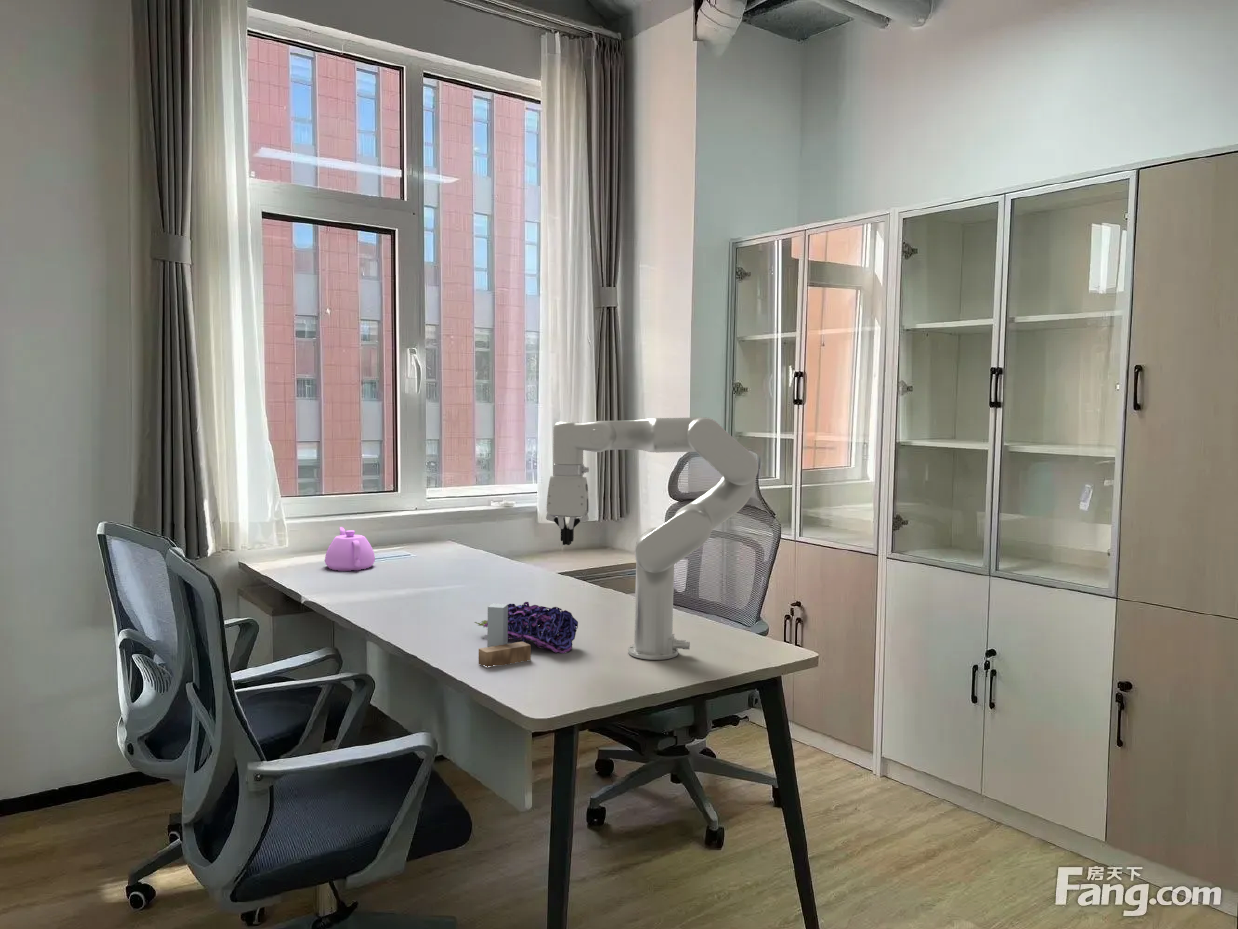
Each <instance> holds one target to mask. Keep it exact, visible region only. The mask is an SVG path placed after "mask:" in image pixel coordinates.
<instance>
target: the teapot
mask: <svg viewBox="0 0 1238 929" xmlns="http://www.w3.org/2000/svg"><path fill="white" fill-rule="evenodd" d="M355 533H356V530H354V529H351V530H346V529H345V528H344V526H339V535H336V536H335V537H334V538H333V540H332V541H331V543H330V544H329V546H328V548H327V549H326V552H325V556H324V563H325V565H326V566H327V567H328V568H329V569H330V570H331V569H332V571H336V570H338V571H339V572H352V571H351V570H357V571H362V570H361V569H364V570H367V569H366V568H368V569H370V568H371V567H372V566H373V565H374V563H375V561H376V556H375V551H374V548H373V547H372V544H371V543H370V542H369V540H368V538H367V537H366V536H364V535H361V534H355ZM369 567H370V568H369ZM338 571H337V572H338Z"/></svg>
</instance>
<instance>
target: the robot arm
mask: <svg viewBox="0 0 1238 929" xmlns="http://www.w3.org/2000/svg"><path fill="white" fill-rule="evenodd" d="M552 433H553V446H552V447H553V448H552V450H553V451H552V452H553V453H552V475H551V476H550V477H549V481H548V488H547V496H546V515H545V516H546V517H545V519H546V520H547V521H551V522H554V523H555V524H556V525H557V527H558V528H559V529H560V541H561V542H562V546H565V545H567V546H570V545H571V544H572V542H574V537H575V535H574V532H575V531H574V529H575V527H577V525H579V524H580V523H581V524H582V523H585V522H588V521H589V512H590V499H589V485H588V484H589V483H588V479H587V476H584V475H585V474H586V473H589V471H590V468H589V467H588V466H585V463H584V451H587V452H594V453H601V452H602V453H603V452H605V451H613V450H614V451H615V450H620V451H621V450H622V451H623V450H633V451H634V450H635V451H637V450H638V451H644V452H648V453H659V454H660V453H697V454H698V455H699V456H700V457H701V458H702V459H703V460H704V461H705V462H706V463H708V465H710V466H712V468H713V469H715V470H716V471H717V473H719V474H720V475H722V476H721V478H720V480H719V481H718V482H717V484H715V485H714V486H713V487H711V488H710V489H709V490H707V491H706V492H705V493H704V494H702V495H700V496H698V497H697V498H696V499H694V500H693V501H691V502H690V503H688V504H686V505H685V506H682V507H680V508H679V509H678V510H677V511H676V512H675V514H674V515H673V517H672V518H670V519H669V520H667V521H665V522H664V523H662V524H661V525H660V526H658V527H650V528H647V529H645V530H643V531H642V533H640V535H639V537H638V538H637V541H636V544H635V548H634V558H635V562H636V563H635V564H636V565H635V593H634V594H635V597H634V598H635V600H634V601H635V602H634V640H633V641H634V643H633V644H632V645H630V646H628V648H627V650H628V651H627V652H628V655H629V656H631V657H634V658H636V659H642V660H649V661H652V660H653V661H660V660H668V659H669V660H670V659H673V658H676V657H677V656H678V655H679V650H680V649H682V650H689V651H690V649H691V642H690V641H687V640H686V639H677V638H676V637H675V633H673V632H674V631H673V624H674V618H673V617H674V593H675V592H674V588H675V587H674V583H675V564H678V563H679V562H680V561H682V560H683V559H685V558H687V557H688V556H689V555H690V554H693V553H695V551H697V550H698V549H699V548H701V547H702V546H703V545H704V544H705V543H707V541H708V540H709V539H710V537H711V535H712V531H713V530H715V529H716V528H718V527H719V526H721V525H722V524H723V523H724V522H726V521H727V520H729V519H730V518H731V517H733V516H734V515H736V514H737V513H738V512H739V511H741V509H743V507H744V506H746V504H747V503H748V501H749V500H750V498H751V496H752V494H753V491H754V488H755V486H756V485H755V484H756V478H757V475H758V473H759V463H758V460H757V458H756V456H755V455H754V454H753V453H752V452H750V451H749V450H748V449H747V448H746V447H744V446H743V444H741V443H740V442H739V441H737V439H735V438H734V437H733V436H732V435H731V434H730V433H729V432H727V431H726V430H725V429H724V428H723V427H722V426H721V425H720V424H719V423H718V422H717V421H716V420H714V419H713V418H710V417H702V416H701V417H700V416H699V417H698V416H697V417H696V416H695V417H692V416H691V417H654V418H645V419H636V420H635V419H633V420H631V419H630V420H596V421H592V422H585V423H584V422H583V423H582V422H579V421H557V422H556V423H555V424H554V425H553V432H552ZM566 518H569V521H568V522H569V523H568V526H567V523H566V522H567V521H566Z"/></svg>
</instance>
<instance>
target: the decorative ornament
mask: <svg viewBox="0 0 1238 929" xmlns="http://www.w3.org/2000/svg"><path fill="white" fill-rule="evenodd" d="M473 623H475V624H477V625H476V626H480V627H482V628H486V631H488V619H486V620H481V622H477V621H474V622H473ZM577 629H579V621H577V619H576V618H575V617H574V616H573V614H572V612H570V611H568V610H566V609H565V610H563V609H562V608H561V607H558V606H552V607H546V606H541V605H537V604H533V605H531V606H530V603H529V601H525V602H523V604H519V605H516V604H515V603H508V640H516V641H517V640H520V641H519V642H525V643H527V642H528V641H531V642H532V643H533V642H534V643H533V645H534V646H535V647H536V648H539V649H544V650H548V651H552V652H553V653H555V654H557V653H559V654H566V653H565V652H568V653H570V651H572V648H573V641H574V640H575V638H576V635H577V633H576V632H577Z"/></svg>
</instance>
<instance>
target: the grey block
mask: <svg viewBox="0 0 1238 929" xmlns="http://www.w3.org/2000/svg"><path fill="white" fill-rule="evenodd" d="M508 604H509V603H508ZM508 604H506V603H491V604H490V605H489V606H487V620H488V627H487V636H486V639H487V642H486V643H487V645H486V647H492V646H498V645H504V644H509V643H508V642H509V639H508Z"/></svg>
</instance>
